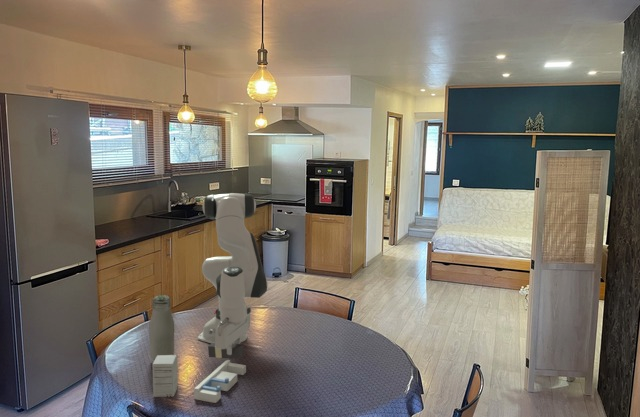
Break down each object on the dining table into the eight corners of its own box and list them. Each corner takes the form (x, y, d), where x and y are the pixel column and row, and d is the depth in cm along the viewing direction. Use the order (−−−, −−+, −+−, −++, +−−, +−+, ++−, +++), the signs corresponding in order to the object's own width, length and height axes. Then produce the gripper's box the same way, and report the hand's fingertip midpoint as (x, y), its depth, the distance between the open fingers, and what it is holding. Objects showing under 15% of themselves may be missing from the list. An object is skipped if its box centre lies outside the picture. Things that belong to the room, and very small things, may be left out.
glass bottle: (152, 368, 193) (150, 301, 189) (148, 358, 202) (146, 293, 198) (177, 363, 197) (175, 297, 193) (172, 353, 206) (171, 290, 202)
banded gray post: (208, 357, 171) (207, 346, 171) (214, 353, 175) (213, 342, 175) (239, 359, 168) (238, 348, 167) (243, 355, 171) (242, 344, 171)
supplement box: (157, 387, 178) (156, 354, 177) (178, 386, 179) (177, 354, 177) (152, 397, 171) (151, 364, 169) (174, 396, 172) (173, 363, 170)
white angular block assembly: (194, 399, 170) (194, 386, 170) (226, 369, 193) (226, 358, 192) (215, 403, 168) (215, 390, 167) (246, 372, 191) (245, 361, 190)
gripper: (227, 324, 158) (227, 364, 159) (253, 306, 177) (253, 341, 179) (210, 322, 160) (210, 362, 161) (237, 304, 179) (238, 339, 181)
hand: (233, 351), depth 170 cm, fingers closed on banded gray post, 3 cm apart
